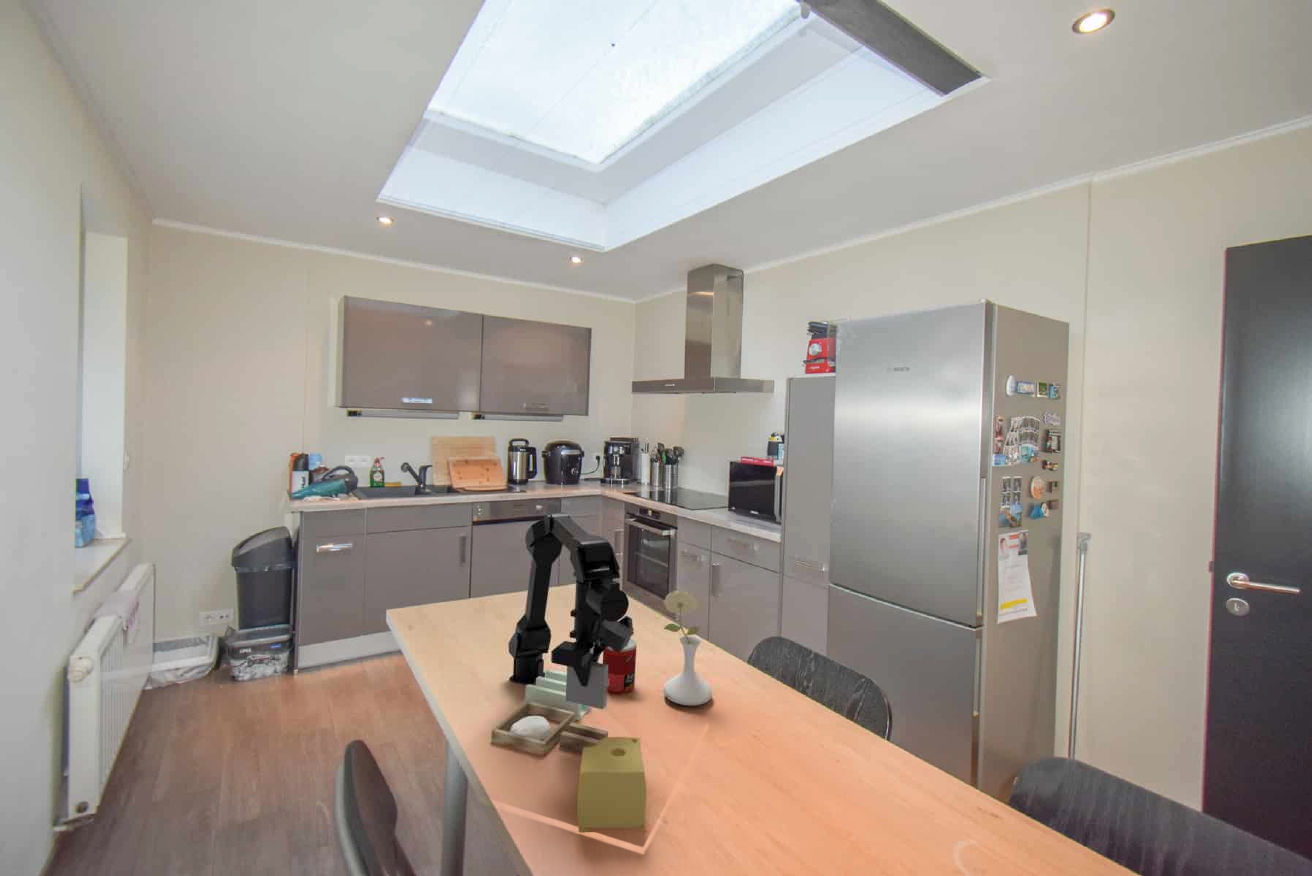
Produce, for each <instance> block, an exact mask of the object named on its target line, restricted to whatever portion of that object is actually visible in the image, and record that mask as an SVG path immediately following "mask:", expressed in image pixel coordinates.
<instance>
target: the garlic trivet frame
mask: <svg viewBox="0 0 1312 876" xmlns="http://www.w3.org/2000/svg"><path fill="white" fill-rule="evenodd" d="M522 704H523V705H522ZM522 704H521V705H522V706H519V707H518V708H517V709H516V710H514V711H513V712H512V713H511V714H510V715H509V716H507V717H506V718H505V719H503V720H502V721H501V722H500V723H499V724H498V725H496V726H495V727H494V728H492V729H491V739H490V740H491V742H492V743H495V744H498V745H502V746H506V747H508V748H514V749H517V750H519V751H520V750H521V751H524V752H527V753H531V754H534V755H538V756H541V757H544V756H545V755H546V754H547V753H549V751H550V750H551V749H552V748H553V747H554V746H555V745H556V744H557V743H558V742H560V734H561V733H562V732H563V731H565V732H569V725H570V724H571V723H572V722H573V723H576V720H575V716H576V713H575V712H571V711H567V710H563V709H559V708H554V707H550V706H546V705H542V704H538V703H534V702H530V701H527V702H525V701H524V702H523V703H522ZM527 715H530V716H542V717H544V718H545V719H546V720H547V719H548V720H551V721H555V722H559V724H558V725H557V726H556V727H554V729H553V730H551V732H550V734H549V735H548V736H547V737H546V738H545V739H543V740H536V739H533V738H529V737H525V736H521V735H518V734H514V733H510V729H511V727H512V725H513V724H514V723H516V722H518V721H519V720H521V719H523V718H526V717H527Z"/></svg>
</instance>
